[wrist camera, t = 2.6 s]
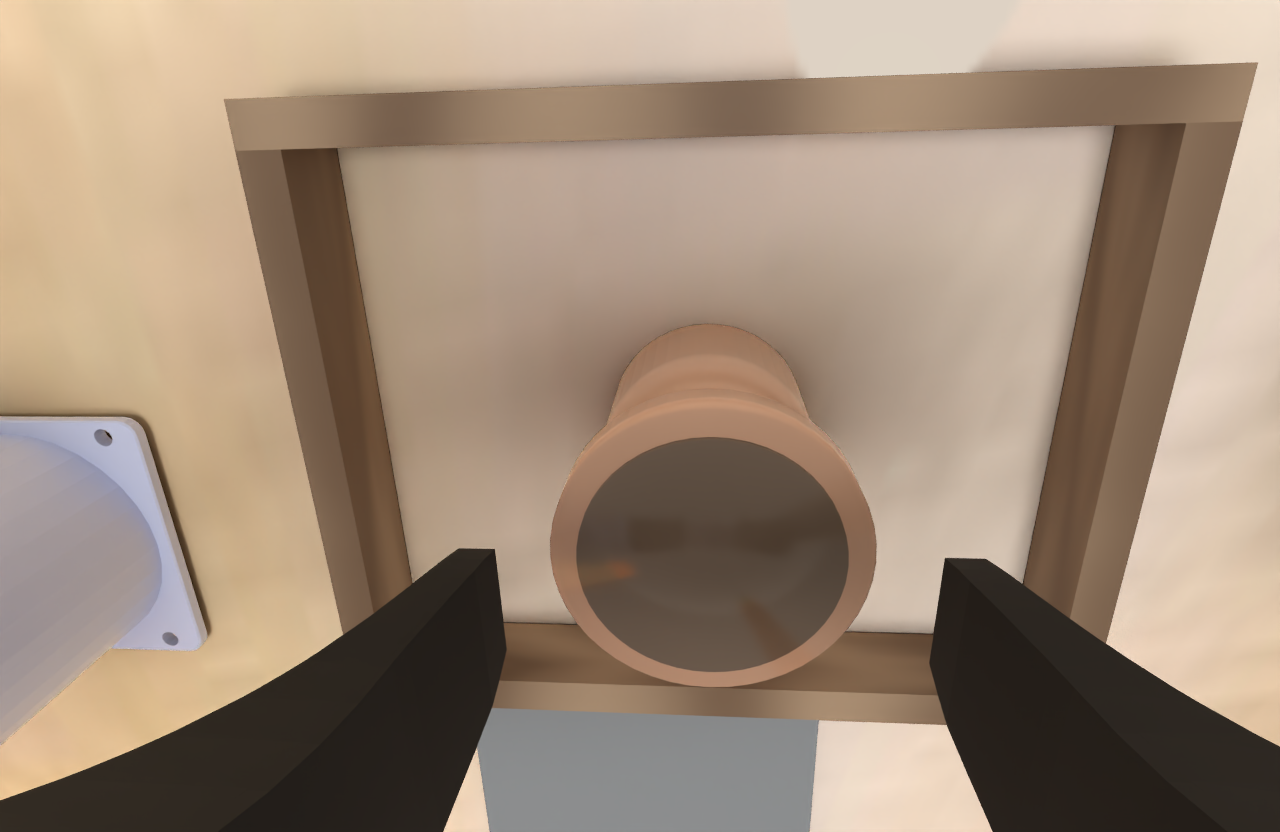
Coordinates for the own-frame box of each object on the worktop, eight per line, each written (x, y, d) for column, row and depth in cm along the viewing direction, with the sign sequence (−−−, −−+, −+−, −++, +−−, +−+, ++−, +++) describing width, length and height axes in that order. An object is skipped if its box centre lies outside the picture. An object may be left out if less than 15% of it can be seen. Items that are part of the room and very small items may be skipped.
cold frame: (392, 645, 23) (358, 703, 21) (287, 102, 17) (223, 99, 15) (1042, 664, 21) (1083, 729, 19) (1175, 71, 16) (1257, 62, 13)
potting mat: (507, 911, 28) (503, 924, 27) (474, 684, 24) (469, 695, 23) (798, 929, 27) (799, 943, 26) (817, 696, 23) (819, 708, 22)
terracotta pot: (604, 507, 21) (560, 688, 14) (594, 309, 19) (535, 411, 12) (810, 510, 20) (862, 698, 14) (823, 307, 18) (894, 412, 11)
